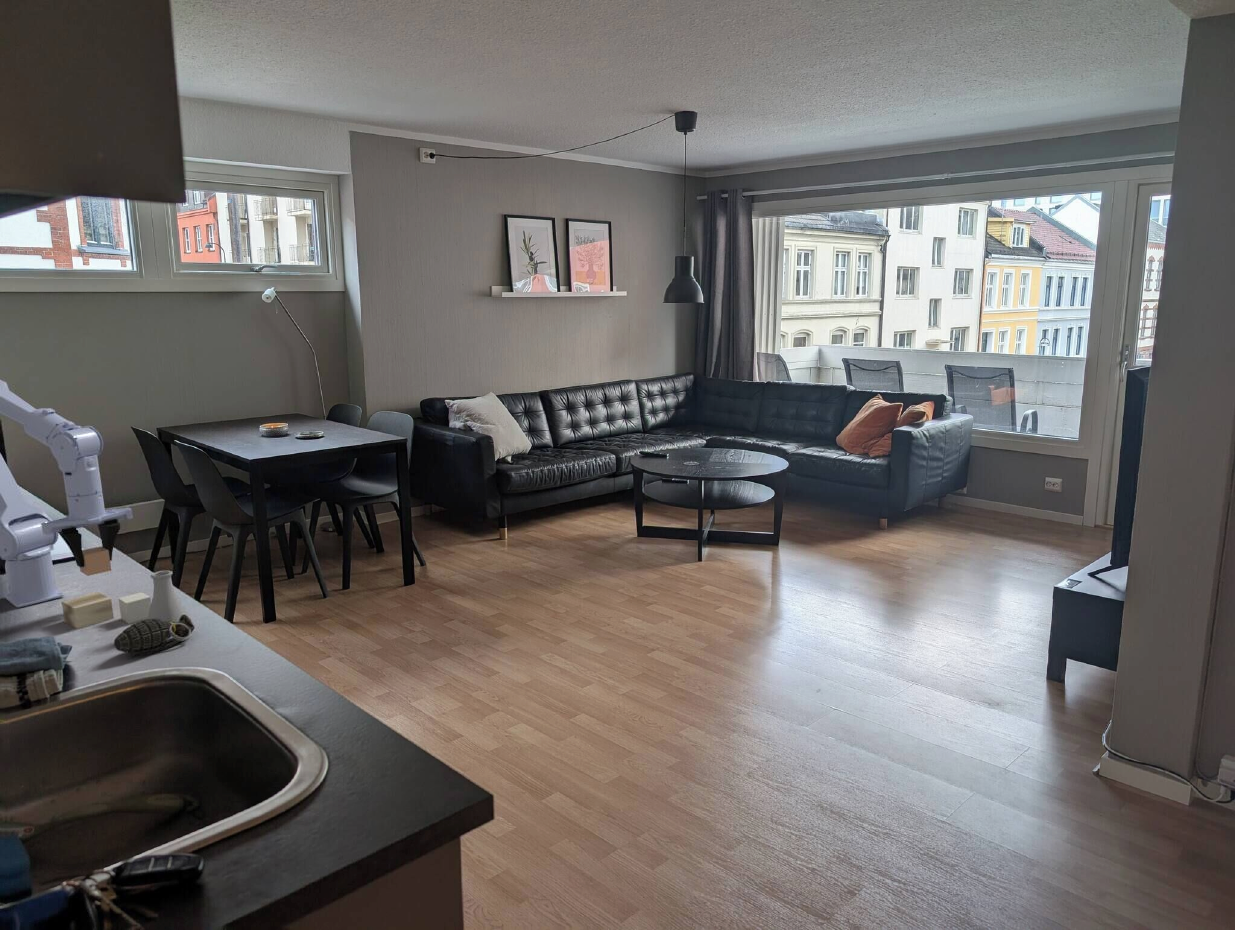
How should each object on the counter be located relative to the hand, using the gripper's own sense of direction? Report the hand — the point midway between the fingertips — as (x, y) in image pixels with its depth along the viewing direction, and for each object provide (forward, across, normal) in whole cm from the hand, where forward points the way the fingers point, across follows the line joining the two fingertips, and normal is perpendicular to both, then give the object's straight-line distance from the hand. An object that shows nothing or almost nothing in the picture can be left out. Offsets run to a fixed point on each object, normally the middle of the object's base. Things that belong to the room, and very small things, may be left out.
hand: (94, 562), depth 160 cm
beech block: (+9, -4, -7) cm, 12 cm away
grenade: (+9, -1, -30) cm, 31 cm away
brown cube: (+2, 0, 0) cm, 2 cm away
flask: (+9, +4, -22) cm, 24 cm away
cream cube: (+8, +2, -13) cm, 15 cm away
